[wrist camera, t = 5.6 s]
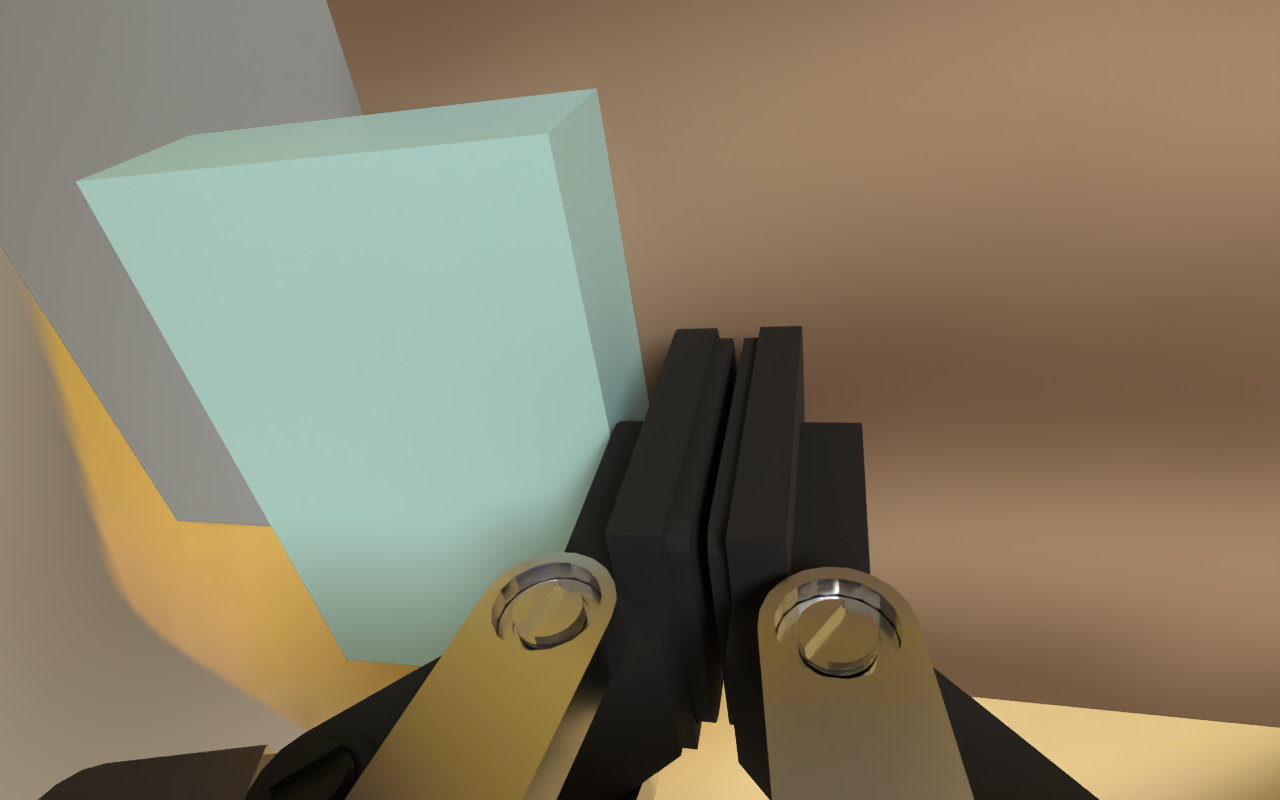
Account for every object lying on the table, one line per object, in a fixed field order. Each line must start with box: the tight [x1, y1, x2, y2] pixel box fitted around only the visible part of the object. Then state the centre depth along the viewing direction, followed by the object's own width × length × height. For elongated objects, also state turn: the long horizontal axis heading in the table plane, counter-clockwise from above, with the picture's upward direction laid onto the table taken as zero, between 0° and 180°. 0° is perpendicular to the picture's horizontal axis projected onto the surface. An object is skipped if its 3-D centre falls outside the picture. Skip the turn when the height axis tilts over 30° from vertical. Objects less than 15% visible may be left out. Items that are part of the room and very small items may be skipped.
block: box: [76, 88, 649, 666], centre depth 11 cm, size 9×6×2 cm, turn 8°
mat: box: [0, 0, 363, 526], centre depth 17 cm, size 15×12×1 cm
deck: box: [326, 0, 1280, 728], centre depth 12 cm, size 14×16×4 cm
